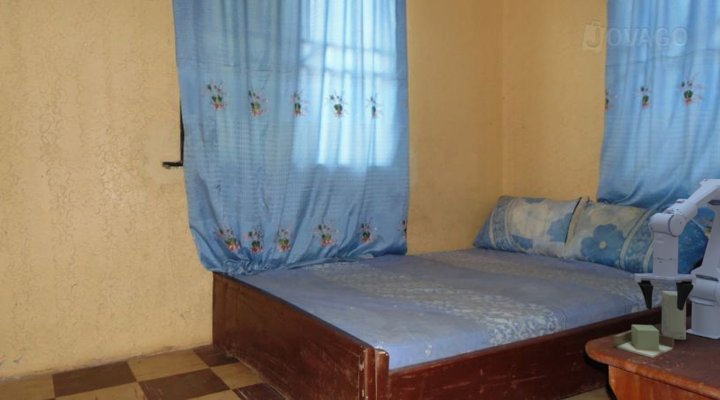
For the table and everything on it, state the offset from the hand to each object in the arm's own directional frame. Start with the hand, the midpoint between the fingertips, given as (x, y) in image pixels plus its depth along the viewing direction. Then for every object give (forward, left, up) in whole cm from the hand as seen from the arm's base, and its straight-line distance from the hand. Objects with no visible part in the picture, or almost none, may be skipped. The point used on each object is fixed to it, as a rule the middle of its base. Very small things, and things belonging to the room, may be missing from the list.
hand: (664, 309), depth 143 cm
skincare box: (-8, -2, -10) cm, 13 cm away
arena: (+8, -2, -9) cm, 12 cm away
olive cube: (+8, -1, -9) cm, 12 cm away
